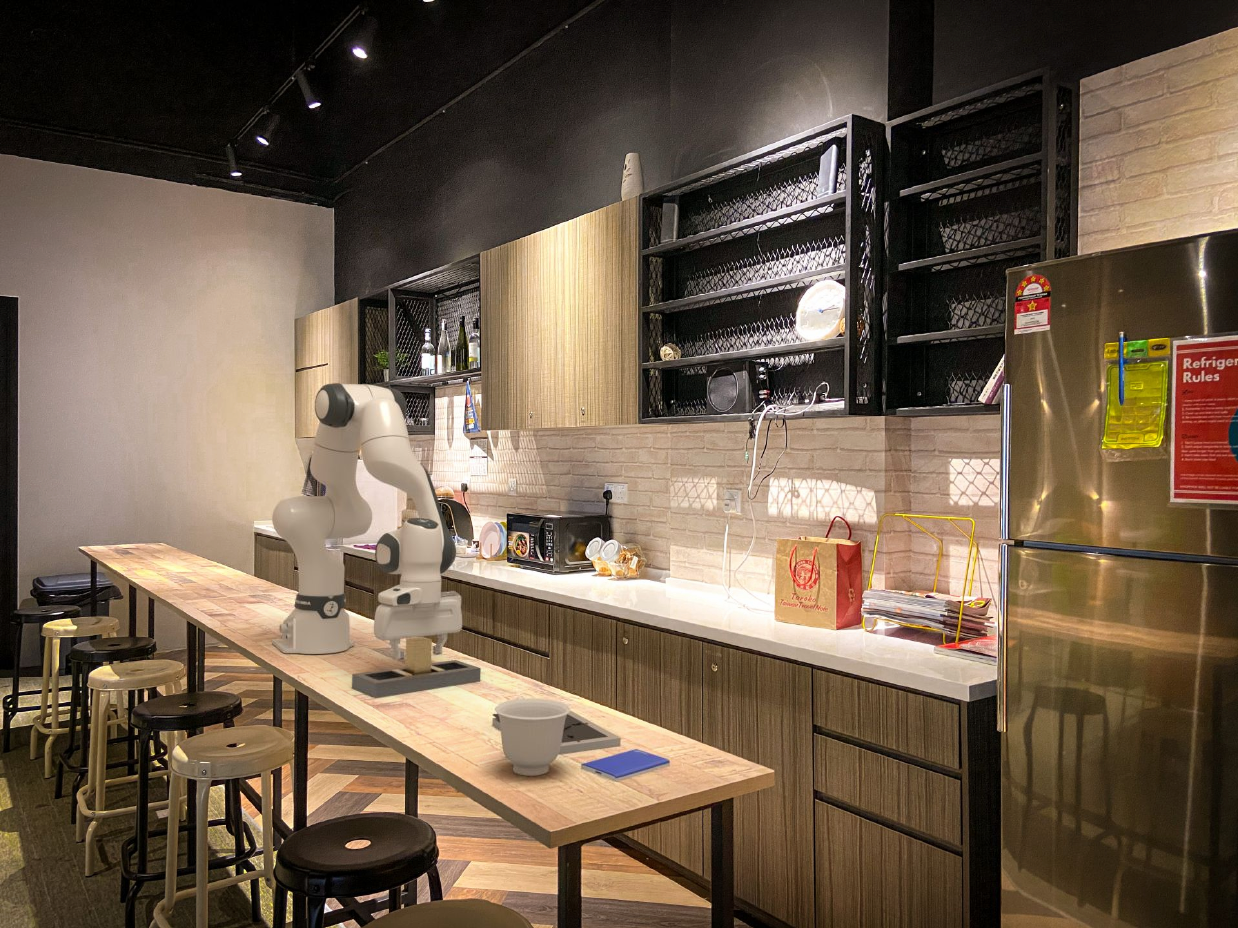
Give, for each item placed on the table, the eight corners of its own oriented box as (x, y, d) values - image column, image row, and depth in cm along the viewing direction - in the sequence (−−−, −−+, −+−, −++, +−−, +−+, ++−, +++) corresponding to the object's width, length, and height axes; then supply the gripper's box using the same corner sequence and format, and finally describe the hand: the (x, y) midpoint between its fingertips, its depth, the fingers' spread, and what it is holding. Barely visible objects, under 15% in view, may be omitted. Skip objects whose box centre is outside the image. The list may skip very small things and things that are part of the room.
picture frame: (492, 729, 174) (538, 761, 156) (492, 713, 174) (538, 744, 156) (568, 719, 182) (620, 749, 164) (568, 705, 182) (620, 733, 164)
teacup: (550, 750, 160) (552, 692, 160) (578, 778, 146) (580, 714, 146) (481, 756, 155) (483, 696, 155) (503, 786, 141) (505, 720, 141)
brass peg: (404, 684, 204) (406, 638, 204) (420, 681, 206) (422, 636, 206) (414, 687, 201) (415, 641, 201) (430, 685, 203) (431, 639, 203)
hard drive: (634, 747, 159) (580, 762, 151) (670, 759, 154) (616, 775, 145) (634, 757, 159) (580, 772, 151) (669, 768, 154) (616, 785, 145)
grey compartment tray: (351, 687, 199) (352, 672, 199) (454, 672, 216) (455, 658, 216) (375, 697, 191) (375, 682, 191) (480, 681, 208) (480, 666, 208)
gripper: (453, 588, 213) (451, 649, 213) (371, 594, 199) (369, 659, 199) (468, 591, 208) (466, 653, 208) (385, 598, 195) (383, 664, 194)
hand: (418, 656), depth 204 cm, fingers open, 8 cm apart
